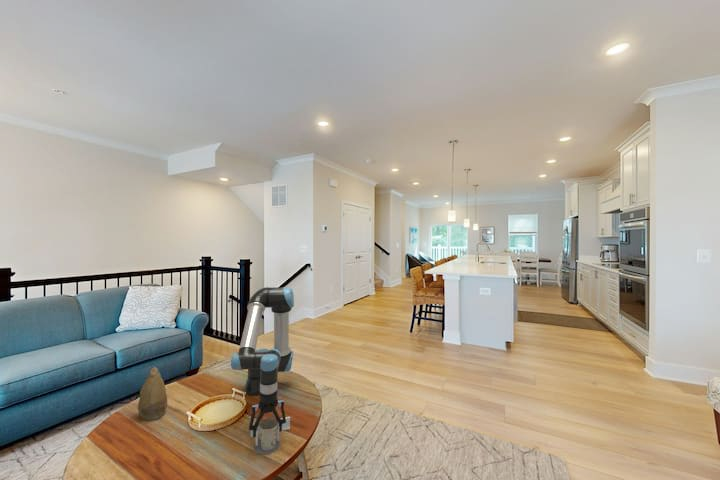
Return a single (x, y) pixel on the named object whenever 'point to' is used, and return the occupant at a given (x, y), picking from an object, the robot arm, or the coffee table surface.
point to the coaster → (259, 450)
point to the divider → (284, 426)
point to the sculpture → (153, 396)
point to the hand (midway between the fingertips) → (267, 441)
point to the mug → (268, 433)
